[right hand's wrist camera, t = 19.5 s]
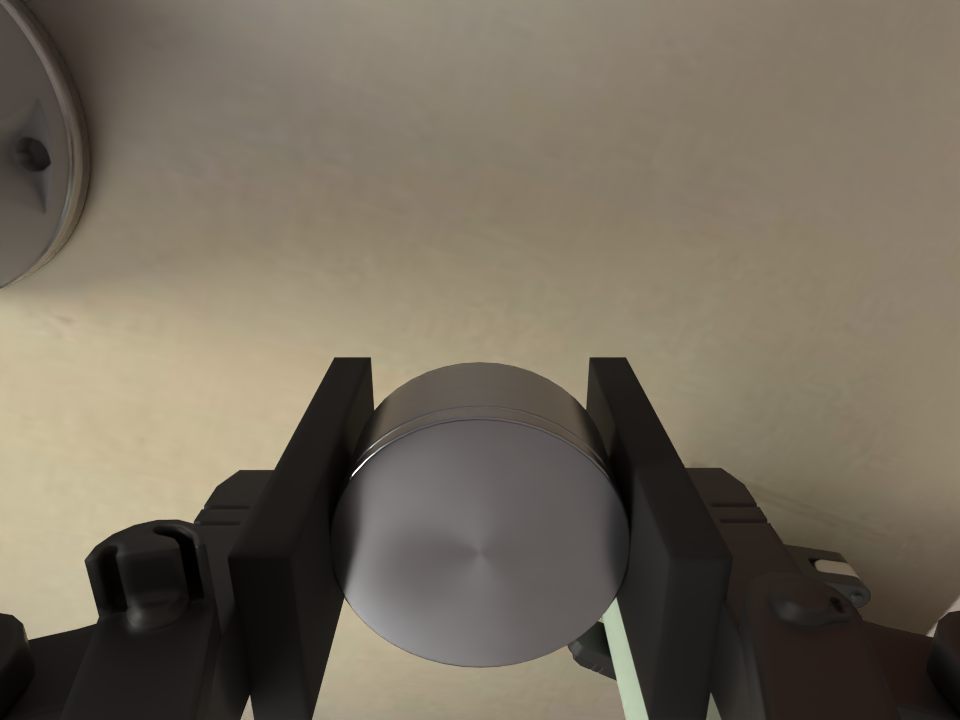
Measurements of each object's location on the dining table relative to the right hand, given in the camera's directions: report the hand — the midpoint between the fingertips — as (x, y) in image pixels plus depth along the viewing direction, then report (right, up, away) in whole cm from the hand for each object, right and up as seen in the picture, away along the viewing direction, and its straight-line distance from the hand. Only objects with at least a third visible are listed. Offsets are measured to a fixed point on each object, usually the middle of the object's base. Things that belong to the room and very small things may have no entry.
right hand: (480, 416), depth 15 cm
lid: (0, -2, -4) cm, 4 cm away
